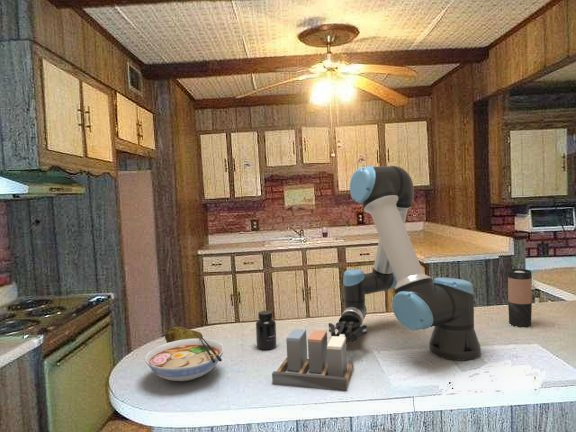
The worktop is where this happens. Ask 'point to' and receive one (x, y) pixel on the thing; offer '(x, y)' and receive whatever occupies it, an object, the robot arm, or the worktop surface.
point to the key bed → (311, 378)
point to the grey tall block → (337, 356)
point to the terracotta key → (317, 351)
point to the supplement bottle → (265, 331)
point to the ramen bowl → (184, 358)
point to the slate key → (296, 349)
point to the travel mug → (519, 297)
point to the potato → (181, 334)
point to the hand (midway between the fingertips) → (338, 346)
